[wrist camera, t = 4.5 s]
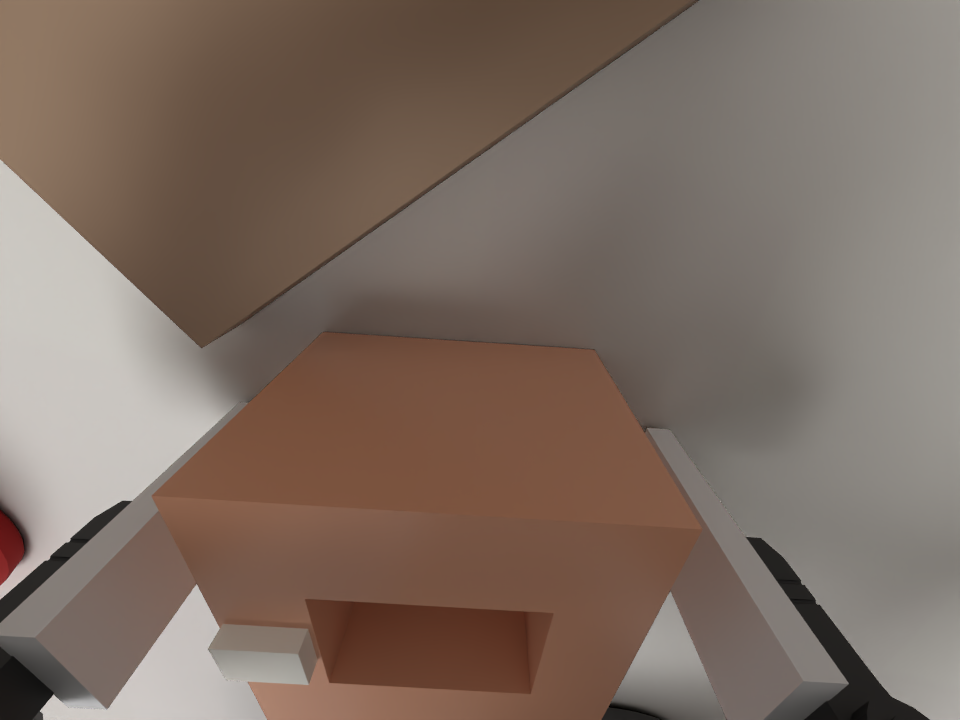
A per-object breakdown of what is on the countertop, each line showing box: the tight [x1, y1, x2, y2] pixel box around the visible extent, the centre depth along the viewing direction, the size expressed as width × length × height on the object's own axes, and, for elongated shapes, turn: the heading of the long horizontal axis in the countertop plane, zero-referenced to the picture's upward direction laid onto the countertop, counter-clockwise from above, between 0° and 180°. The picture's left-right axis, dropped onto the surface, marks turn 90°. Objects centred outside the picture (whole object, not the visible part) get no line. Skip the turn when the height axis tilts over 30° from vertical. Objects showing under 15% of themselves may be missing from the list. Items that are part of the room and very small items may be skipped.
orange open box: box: [152, 332, 703, 720], centre depth 9 cm, size 8×8×6 cm
